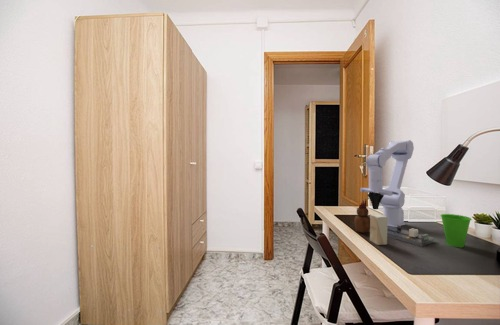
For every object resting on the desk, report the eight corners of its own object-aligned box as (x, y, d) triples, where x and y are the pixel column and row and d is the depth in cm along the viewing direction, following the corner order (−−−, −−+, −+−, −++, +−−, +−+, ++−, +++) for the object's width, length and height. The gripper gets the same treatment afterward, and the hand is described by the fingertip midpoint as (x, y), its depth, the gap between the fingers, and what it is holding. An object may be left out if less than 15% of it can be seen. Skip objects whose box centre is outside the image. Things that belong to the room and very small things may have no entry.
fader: (412, 234, 97) (412, 228, 97) (417, 236, 95) (418, 229, 95) (408, 235, 95) (409, 229, 95) (414, 237, 94) (414, 230, 94)
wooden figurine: (367, 229, 109) (367, 198, 109) (372, 233, 104) (372, 200, 103) (352, 229, 110) (352, 198, 110) (357, 233, 104) (357, 200, 104)
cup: (470, 244, 90) (471, 216, 90) (471, 251, 84) (471, 221, 83) (441, 239, 96) (441, 212, 96) (439, 245, 90) (439, 217, 89)
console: (387, 229, 110) (387, 221, 110) (434, 241, 93) (434, 233, 93) (374, 232, 105) (374, 224, 105) (421, 246, 89) (421, 237, 89)
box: (369, 240, 96) (369, 213, 95) (379, 240, 96) (379, 213, 96) (377, 245, 91) (377, 217, 90) (388, 244, 91) (388, 216, 91)
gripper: (356, 179, 113) (356, 207, 113) (386, 182, 100) (386, 213, 101) (365, 178, 117) (365, 205, 117) (395, 181, 104) (395, 211, 104)
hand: (375, 208), depth 109 cm, fingers closed
